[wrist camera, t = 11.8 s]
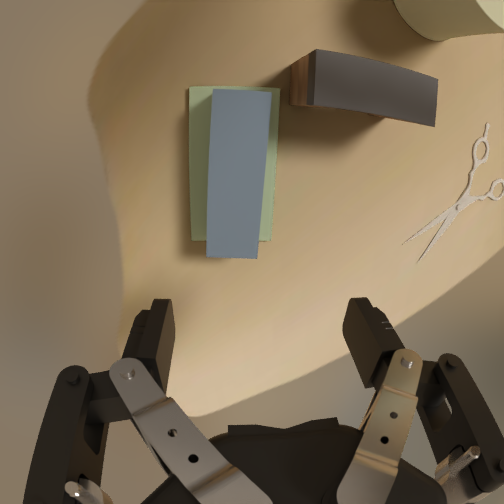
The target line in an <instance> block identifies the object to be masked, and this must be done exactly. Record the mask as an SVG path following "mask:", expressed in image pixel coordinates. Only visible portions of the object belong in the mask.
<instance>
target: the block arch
mask: <svg viewBox="0 0 504 504" xmlns="http://www.w3.org/2000/svg"><path fill="white" fill-rule="evenodd" d="M437 91H438V79H436V78H433V77H431V76H428V75H425V74H422V73H419V72H415V71H412V70H409V69H405V68H402V67H399V66H395V65H391V64H388V63H384V62H380V61H376V60H371V59H367V58H363V57H358V56H353V55H348V54H343V53H338V52H332V51H326V50H319V49H316V50H314V51H312V52H311V53H309V54H307V55H306V56H304V57H302V58H301V59H299V60H297V61H296V62H294V63H293V64H291V79H290V99H289V105H297V106H307V107H325V108H337V109H344V110H351V111H357V112H363V113H368V115H373V116H378V117H384V118H389V119H395V120H401V121H407V122H412V123H417V124H422V125H427V126H432V127H435V117H436V106H437Z"/></svg>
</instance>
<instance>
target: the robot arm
mask: <svg viewBox="0 0 504 504" xmlns="http://www.w3.org/2000/svg"><path fill="white" fill-rule="evenodd" d="M343 336H344V338H345V341H346V343H347V346H348V348H349V350H350V353H351V355H352V357H353V360H354V362H355V365H356V367H357V369H358V372H359V374H360V377H361V379H362V382H363V384H364V387H365V388H371V387H374V388H375V390H376V391H375V393H374V395H373V397H372V400H371V402H370V404H369V407H368V409H367V411H366V413H365V416H364V418H363V420H362V422H361V424H360V426H359V428H358V429H356V428H353V427H350V426H347V425H340V424H339V423H338V420H337V417H334V418H327V419H320V420H311V421H309V422H305V423H302V424H300V425H296V426H293V427H290V428H286V429H280V428H274V427H267V426H261V425H228V432H227V433H223V434H220V435H217V436H214V437H212V438H210V439H209V440H208V439H207V438H206V437H205V436H204V435H203V434H202V433H201V432H200V430H199V429H198V428H197V427H196V426H195V425H194V424H193V422H192V421H191V420H190V419H189V418H188V416H187V415H186V414H185V413H184V411H183V410H182V409H181V408H180V407H179V405H178V404H177V403H176V402H175V400H174V399H173V398H171V397H169V398H168V397H167V396H166V390H167V384H168V377H169V371H170V365H171V359H172V353H173V347H174V341H175V323H174V315H173V308H172V301H171V299H154V300H153V303H152V306H151V309H150V310H142V311H141V312H140V313H139V314H138V315H137V316H136V317H135V320H134V323H133V327H132V328H131V331H130V334H129V337H128V340H127V343H126V346H125V349H124V352H123V355H122V358H121V359H120V360H118V361H116V362H115V363H114V364H113V365H112V366H111V368H110V370H108V371H104V372H98V373H92V374H89V373H88V371H87V370H86V369H85V368H84V367H81V366H77V365H74V366H69V367H67V368H65V369H63V370H62V371H61V372H60V374H59V375H58V377H57V380H56V383H55V386H54V389H53V391H52V394H51V397H50V400H49V403H48V406H47V409H46V412H45V416H44V418H43V422H42V425H41V428H40V432H39V435H38V439H37V443H36V446H35V450H34V454H33V458H32V462H31V466H30V471H29V475H28V479H27V484H26V489H25V494H24V500H23V504H113V501H112V499H111V498H110V496H109V495H108V494H107V493H105V492H104V491H103V490H102V489H101V488H100V484H101V476H102V468H103V461H104V453H105V447H106V440H107V434H108V428H109V423H110V422H116V421H122V420H128V419H130V421H131V422H132V424H133V425H134V427H135V429H136V430H137V432H138V433H139V435H140V436H141V438H142V439H143V441H144V442H145V444H146V445H147V447H148V448H149V450H150V451H151V453H152V454H153V456H154V458H155V459H156V461H157V462H158V464H159V465H160V466H161V468H162V469H163V470H164V472H165V473H166V474H167V475H168V478H167V479H166V480H165V481H164V482H163V483H162V484H161V485H160V486H159V487H158V488H157V489H156V490H155V491H154V492H153V493H152V494H150V495H149V496H148V497H147V498H146V499H145V500H144V501H143V502H142V503H141V504H474V503H476V502H477V501H479V500H481V499H482V498H484V497H485V496H487V495H489V494H490V493H491V492H493V491H495V490H496V489H498V488H499V487H500V486H502V485H503V484H504V438H503V435H502V434H501V431H500V429H499V427H498V425H497V423H496V422H495V419H494V417H493V415H492V413H491V411H490V409H489V407H488V406H487V404H486V402H485V400H484V398H483V396H482V394H481V393H480V391H479V389H478V387H477V386H476V384H475V382H474V380H473V378H472V377H471V375H470V373H469V372H468V370H467V368H466V367H465V365H464V363H463V362H462V360H461V359H460V358H459V357H457V356H456V355H453V354H449V353H446V354H443V355H441V356H440V357H439V359H438V361H437V362H433V361H423V360H422V359H421V357H420V356H419V355H418V354H417V353H416V352H414V351H413V350H410V349H405V347H404V345H403V343H402V342H401V340H400V338H399V337H398V335H397V333H396V332H395V330H394V329H393V327H392V325H391V323H389V320H388V319H387V317H386V315H385V314H384V313H383V312H382V311H381V310H379V309H378V308H377V307H373V306H372V305H371V303H370V301H369V300H368V298H366V297H362V298H351V299H350V300H349V303H348V307H347V311H346V314H345V318H344V322H343ZM445 398H447V400H448V402H449V404H450V406H451V408H452V415H451V412H450V410H449V408H448V406H447V404H446V402H445ZM415 409H417V411H418V414H419V416H420V419H421V421H422V424H423V426H424V429H425V432H426V434H427V437H428V440H429V442H430V445H431V448H432V450H433V453H434V456H435V459H436V462H437V465H438V466H437V467H436V470H435V478H434V479H433V478H431V477H430V476H428V475H426V474H425V473H423V472H422V471H420V470H419V469H417V468H415V467H414V466H412V465H411V464H409V463H408V462H406V461H405V460H403V459H402V458H400V457H401V455H402V452H403V449H404V445H405V443H406V440H407V437H408V434H409V430H410V427H411V424H412V420H413V417H414V413H415Z"/></svg>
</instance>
